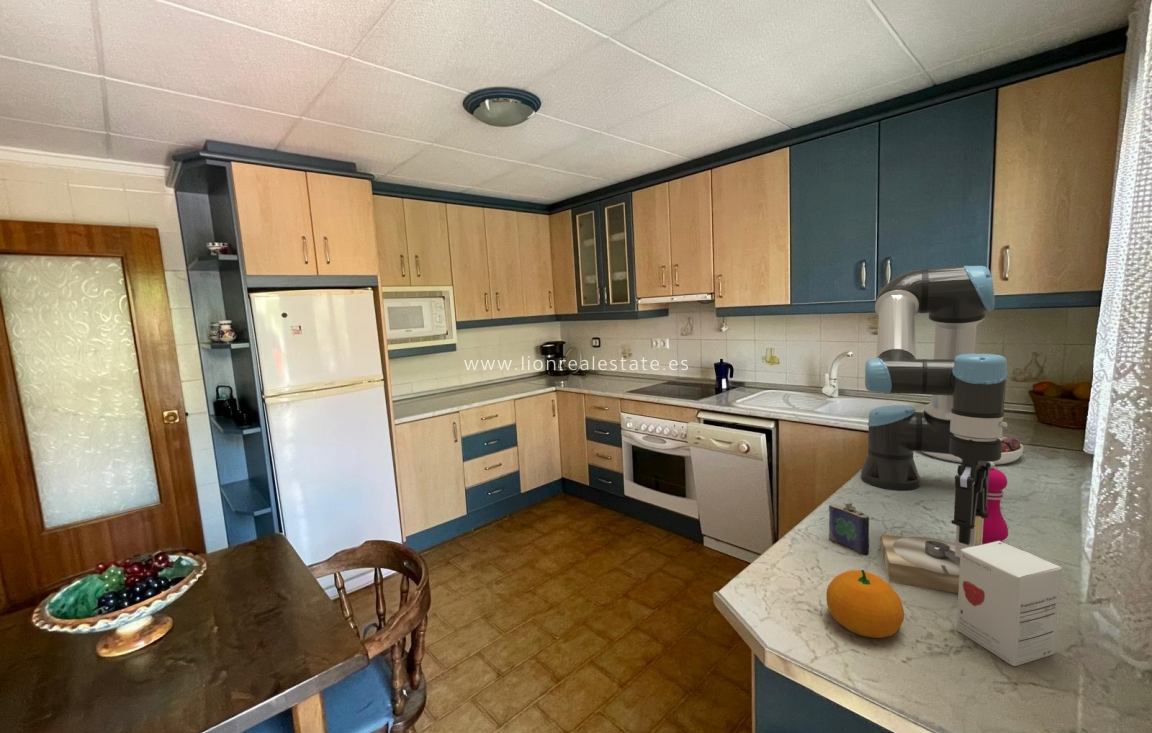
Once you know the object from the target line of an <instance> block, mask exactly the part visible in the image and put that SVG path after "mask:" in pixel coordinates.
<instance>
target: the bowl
mask: <svg viewBox="0 0 1152 733" xmlns="http://www.w3.org/2000/svg"><path fill="white" fill-rule="evenodd" d="M998 439H1000V440H1001V441H1002V453H1001V459H999V460H998V461H993V463H994V464H995V466H998V465H1005V464H1010V463H1013V462H1015V461H1017V460H1018V459H1020V458H1021V457H1022V455H1023V452H1024V446H1023V444H1022V443H1021V442H1020V441H1019V440H1017V439H1016V438H1012V437H1005V436H1002V437H1000V438H998ZM922 453H923V454H925V455H927V456H929V457H931V458H936V459H937V460H938V459H939V460H943V461H947V462H952V463H959V464H962V459H961V458H959V457H956V456H954V455H951V454H941V453H930V452H922Z"/></svg>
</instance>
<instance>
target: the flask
mask: <svg viewBox="0 0 1152 733" xmlns="http://www.w3.org/2000/svg"><path fill="white" fill-rule="evenodd" d="M843 504H844V505H841V504H838V503H830V504H829V505H828V510H829V511H828V512H829V513H828V518H829V519H828V520H829V522H828V528H829V529H828V539H829V541H830V542H832V543H833V544H837V545H839V546H841V547H843V548H844V549H849V551H853V552H854V553H857V554H859V555H861V556H866V557H867V556H869V554H870V517H869V516H868V514H866V513H864V512H863V511H861V510H858V509H857V508H856V507H855V506H853V504H854V501H848V502H844V503H843Z"/></svg>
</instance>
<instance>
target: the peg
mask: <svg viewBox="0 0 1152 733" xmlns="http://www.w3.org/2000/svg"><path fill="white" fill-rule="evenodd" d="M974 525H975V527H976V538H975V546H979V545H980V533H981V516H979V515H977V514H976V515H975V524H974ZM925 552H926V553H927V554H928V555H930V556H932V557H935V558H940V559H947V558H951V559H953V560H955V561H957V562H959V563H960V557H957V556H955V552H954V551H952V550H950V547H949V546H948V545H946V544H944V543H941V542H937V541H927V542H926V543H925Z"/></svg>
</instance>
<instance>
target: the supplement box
mask: <svg viewBox="0 0 1152 733" xmlns="http://www.w3.org/2000/svg"><path fill="white" fill-rule="evenodd" d="M1003 542H1004V541H1003ZM1003 542H1001V541H996V542H992V543H988V544H983V545H979V546H973V547H968V548H964V549H961V550H960V572H959V593H957V594H958V595H957V597H958V598H957V614H956V615H957V616H956V631H958V632H960V633H961V634H962V635H964V636H966V637H967V638H969V639H970V640H971V641H973V642H974V643H976V644H978V645H980V646H981V647H983V648H984V649H985V650H987V651H989V652H990V653H992V654H993V655H995V656H996V657H998V658H1000V659H1001V660H1003V661H1004V662H1006V663H1007V664H1009V665H1010V666H1012V667H1017V666H1021V665H1024V664H1027V663H1031V662H1033V661H1037V660H1039V659H1042V658H1045V657H1049V656H1051V655H1052V656H1053V655H1055V653H1056V652H1055V651H1056V638H1057V628H1058V626H1057V625H1058V614H1059V604H1060V602H1059V600H1060V591H1061V578H1062V570H1063V567H1061V566H1060V565H1057V564H1054V563H1052V562H1050V561H1048V560H1046V559H1043V558H1041V557H1038V556H1036V555H1035V554H1032V553H1030V552H1028V551H1025V550H1023V549H1019V548H1017V547H1015V546H1013V545H1010V544H1008V543H1005V542H1004V543H1003Z"/></svg>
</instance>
